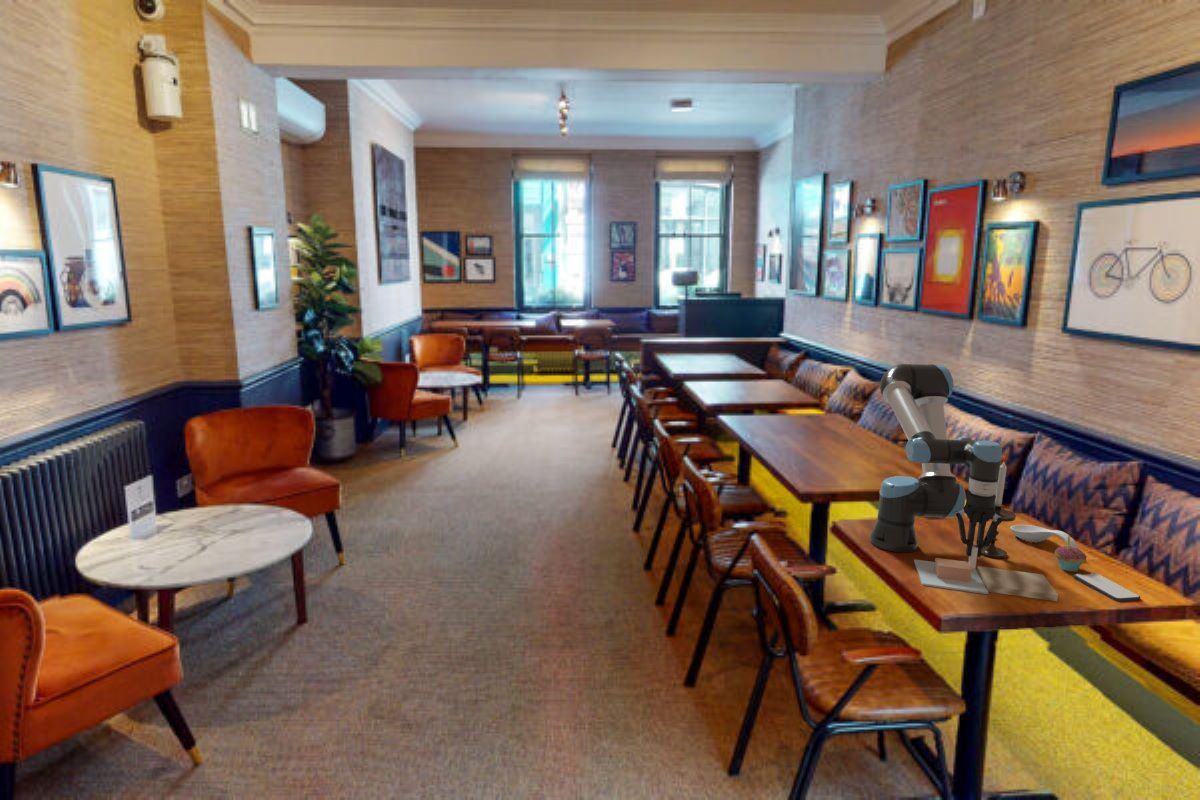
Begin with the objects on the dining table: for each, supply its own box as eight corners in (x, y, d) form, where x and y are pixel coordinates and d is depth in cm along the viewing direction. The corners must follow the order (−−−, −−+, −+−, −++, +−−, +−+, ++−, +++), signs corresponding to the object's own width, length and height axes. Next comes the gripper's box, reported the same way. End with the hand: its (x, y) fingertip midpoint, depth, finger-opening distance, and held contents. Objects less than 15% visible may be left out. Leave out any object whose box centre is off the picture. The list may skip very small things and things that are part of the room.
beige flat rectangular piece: (987, 591, 203) (988, 585, 202) (976, 571, 216) (977, 565, 215) (1056, 601, 197) (1057, 594, 197) (1041, 580, 211) (1042, 574, 210)
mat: (922, 585, 206) (922, 583, 206) (913, 561, 223) (914, 559, 223) (988, 594, 201) (988, 592, 201) (974, 569, 218) (974, 567, 217)
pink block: (937, 577, 210) (938, 565, 209) (934, 569, 215) (935, 557, 214) (969, 582, 207) (971, 569, 206) (965, 573, 213) (967, 561, 212)
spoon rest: (1001, 534, 247) (1004, 515, 246) (1027, 531, 251) (1030, 513, 249) (1061, 561, 225) (1065, 541, 224) (1088, 558, 229) (1092, 538, 227)
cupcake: (1069, 575, 214) (1075, 539, 212) (1045, 564, 222) (1051, 529, 220) (1090, 572, 217) (1097, 537, 214) (1066, 561, 225) (1072, 527, 222)
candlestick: (1000, 547, 235) (1014, 449, 228) (1016, 560, 224) (1031, 458, 218) (967, 545, 236) (980, 447, 229) (981, 558, 225) (995, 456, 219)
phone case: (1142, 602, 199) (1095, 576, 215) (1143, 597, 199) (1096, 572, 214) (1116, 604, 198) (1070, 578, 213) (1117, 599, 198) (1071, 573, 213)
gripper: (960, 493, 203) (950, 567, 208) (1009, 499, 199) (998, 574, 204) (955, 486, 210) (946, 558, 215) (1002, 491, 206) (992, 563, 211)
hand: (971, 565), depth 209 cm, fingers closed
